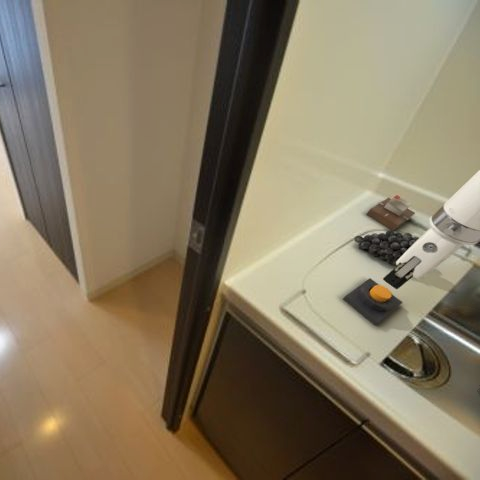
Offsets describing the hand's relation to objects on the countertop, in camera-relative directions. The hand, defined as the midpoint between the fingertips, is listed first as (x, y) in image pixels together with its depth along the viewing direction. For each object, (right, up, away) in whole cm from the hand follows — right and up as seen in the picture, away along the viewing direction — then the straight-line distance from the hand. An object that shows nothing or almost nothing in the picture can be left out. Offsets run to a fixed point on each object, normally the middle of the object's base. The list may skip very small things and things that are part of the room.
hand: (391, 282), depth 71 cm
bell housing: (0, -6, +7) cm, 9 cm away
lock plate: (+21, +16, +27) cm, 38 cm away
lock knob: (+21, +18, +25) cm, 37 cm away
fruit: (+11, +5, +17) cm, 21 cm away
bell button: (0, -4, +4) cm, 5 cm away
